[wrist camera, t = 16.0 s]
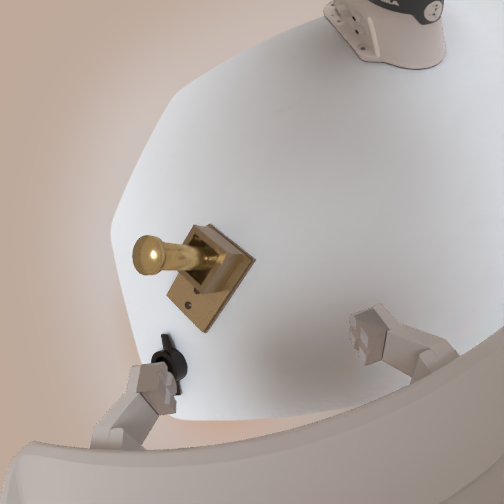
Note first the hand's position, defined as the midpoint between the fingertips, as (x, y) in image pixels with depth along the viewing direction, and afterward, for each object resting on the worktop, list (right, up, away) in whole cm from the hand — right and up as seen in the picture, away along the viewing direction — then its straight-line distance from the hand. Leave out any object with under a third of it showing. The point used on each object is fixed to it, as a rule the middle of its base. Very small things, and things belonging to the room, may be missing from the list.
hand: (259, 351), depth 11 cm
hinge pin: (-5, +3, +29) cm, 29 cm away
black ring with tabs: (-13, -15, +33) cm, 39 cm away
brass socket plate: (-7, 0, +30) cm, 31 cm away
